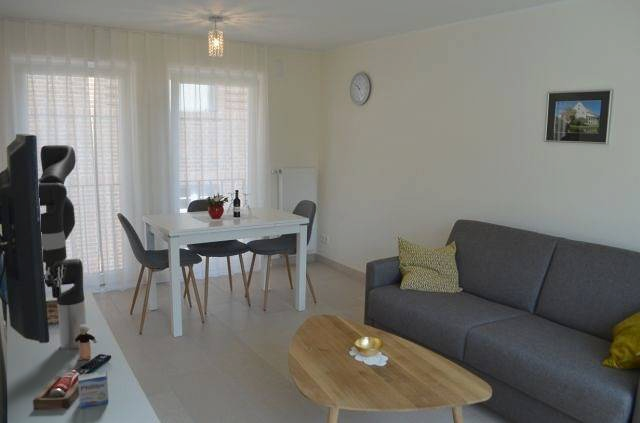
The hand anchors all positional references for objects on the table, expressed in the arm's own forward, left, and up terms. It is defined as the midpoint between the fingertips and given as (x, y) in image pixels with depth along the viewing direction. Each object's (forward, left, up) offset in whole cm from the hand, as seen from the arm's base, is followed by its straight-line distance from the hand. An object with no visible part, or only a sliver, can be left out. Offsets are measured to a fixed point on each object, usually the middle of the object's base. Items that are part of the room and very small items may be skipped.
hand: (57, 297), depth 166 cm
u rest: (+13, +5, -27) cm, 31 cm away
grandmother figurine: (-13, +2, -28) cm, 31 cm away
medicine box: (+18, +16, -28) cm, 37 cm away
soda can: (+6, +6, -25) cm, 26 cm away
